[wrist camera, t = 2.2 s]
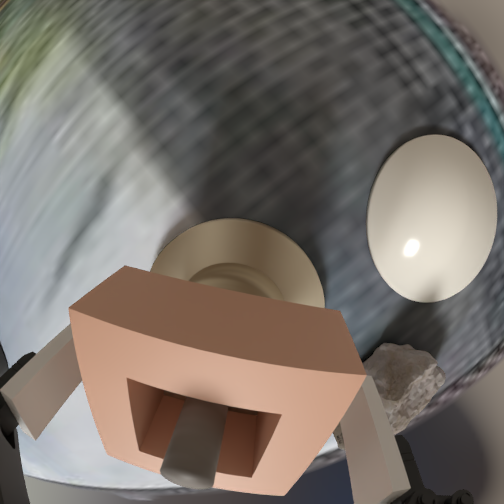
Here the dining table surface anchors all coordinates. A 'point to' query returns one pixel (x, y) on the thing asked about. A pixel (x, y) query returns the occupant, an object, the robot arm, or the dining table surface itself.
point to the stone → (401, 383)
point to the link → (214, 373)
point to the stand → (240, 280)
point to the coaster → (431, 218)
